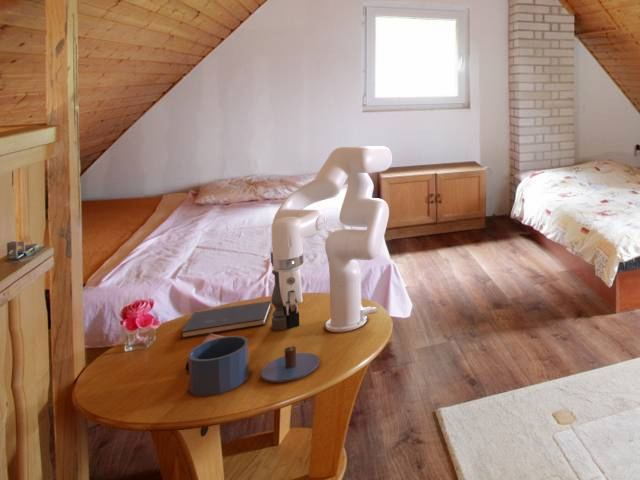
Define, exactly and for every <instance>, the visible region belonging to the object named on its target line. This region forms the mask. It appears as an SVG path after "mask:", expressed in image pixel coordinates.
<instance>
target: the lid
mask: <svg viewBox="0 0 640 480" xmlns="http://www.w3.org/2000/svg"><path fill="white" fill-rule="evenodd" d="M319 365H320V358H319V356H318V355H316V354H315V353H311V352H298V353H297V347H296V346H294V345H293V346H288V347H286V348H285V349H284V356H281V357H279V358H276V359H274V360H271V362H269V363H267V364H266V365H264V367H263V368H262V370H261V373H260V377H261V379H262V380H263V381H265V382H268V383H285V382H290V381H294V380H297V379H300V378H303V377H305V376H308V375H309V374H310V373H311V374H312V372H314V371H315V370H316V369H317V368H318V366H319Z"/></svg>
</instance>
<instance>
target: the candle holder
mask: <svg viewBox="0 0 640 480" xmlns="http://www.w3.org/2000/svg"><path fill="white" fill-rule="evenodd" d="M270 264H271V266H272V267H273V251H271V252H270ZM271 274H272V275H273V276H274V285H273V289H272V295H271V299H270V301H271V305H273V306H274V310H273V312H272V317H271V329H272V330H273V331H276V332H277V331H285V330H288V329H287V328H286V315H284V312H283V302H282V298H281V293H280V285H279V272H277V271H274V269H272V271H271Z"/></svg>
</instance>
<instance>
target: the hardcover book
mask: <svg viewBox="0 0 640 480" xmlns="http://www.w3.org/2000/svg"><path fill="white" fill-rule="evenodd" d="M271 308H272V302H271V300H267V301H266V300H265V301H261V302H260V301H259V302H251V303H246V304H240V305H233V306H226V307H219V308H212V309H206V310H199V311H194V312H193V313H192V315H191V316H190V318H189V319H188V320H187V322H186V324H185V325H184V327H183V328H182V329H181V332H180V333H181V334H182V336H181V339H182V340H183V339H189V338H194V337H201V336H206V335H207V336H208V335H209V333H212V334H219V333H220V334H221V333H226V332H230V331H231V332H232V331H237V330H244V329H249V328H250V329H251V328H257V327H262V326H265V325H266V322H267V319H268V317H269V314H270V311H271Z"/></svg>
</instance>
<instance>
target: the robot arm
mask: <svg viewBox="0 0 640 480" xmlns="http://www.w3.org/2000/svg"><path fill="white" fill-rule="evenodd" d="M392 164H393V153H392V151H391V150H390V148H388V147H386V146H340V147H336V148H335V149H334V150H332V151H331V153H330V154H329V156H328V157H327V159H326V160H325V162H324V164H322V167H321V168H320V169H319V171H318V173H317V174H316V176H315V177H314V179H312V180H311V181H309V182H307V183H305V184H304V185H302V186H300V187H299V188H297V189H296V190H294V191H292V192H291V193H290V194H289V195H287V196H286V198H285V199H284V200H283V202H282V203H281V204H280V206H279V208H278V210H276V213H275V215H274V217H273V219H272V223H271V227H270V228H271V246H272V252H273V266H272V267H273V270H274V271H277V272H279V285H280V293H281V298H282V302H283V312H284V315H286V328H287V329H286V330H290V329H294V328H298V327H300V311H299V305H298V304H299V303H300V304H302V303H303V301H304V300H303V288H302V287H303V286H302V274H301V268H302V267H303V266H304V265H305V263H304V262H305V261H304V242H303V241H304V239H307V238H311V237H315V236H317V235H319V234H320V233H321V232H323V230H324V229H325V227H326V226H327V217H326V214H325V213H323V212H322V211H321V210H317V209H305V208H307V207H308V206H310V205H313V204H315V203H318V202H322V201H324V200H328V199H329V198H330V199H331V198H333V197H334V196H335V197H336V195H338V194H339V193H340V192H341V190H342V188H343V186H344V185H345V183H346V181H347V187H346V190H345V191H346V192H345V194H344V195H345V196H344V198H343V202H342V205H341V208H340V212H339V216H338V219H339V222H340V224H342V225H343V226H345V227H354V228H356V227H357V228H366V229H354V228H353V229H352V228H351V229H349V228H344V229H337V230H336V229H335V230H334V231H332V232H331V233H329V234H328V236H327V237H326V239H325V242H324V248H325V254H326V259H327V263H328V272H329V308H330V309H329V311H330V318H329V319H328V320H327V321H326V322H325V329H326V330H327V331H329V332H331V333H345V332H350V331H353V330H355V329H358V328H361V327H362V326H364V325H365V324H366V323H367V321H368V315H373V314H377V313H378V309H377V307H376V306H375V307H372V305H370V306H367V307H366V306H365V307H364V306H363V304H362V275H361V274H362V272H361V266H360V264H359V262H358V260H359V261H370V260H374V259H376V258H377V256H378V255H379V254H380V252H381V249H382V245H383V241H384V239H385V234H386V230H387V225H388V223H389V217H390V208H389V204H388V203H387V201H385V200H384V199H381V198H373V192H374V190H375V189H374V188H375V186H374V185H375V184H374V182H373V180H372V178H371V177H370V175H369V174H373V173H381V172H385V171H387V170H389V169H390V167H391V166H392Z"/></svg>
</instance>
